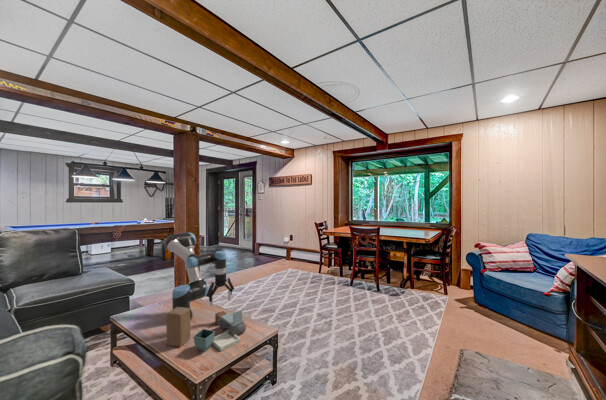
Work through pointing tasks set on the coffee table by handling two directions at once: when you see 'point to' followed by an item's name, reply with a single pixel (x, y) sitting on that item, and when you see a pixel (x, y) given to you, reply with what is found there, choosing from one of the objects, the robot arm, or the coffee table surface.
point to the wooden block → (178, 326)
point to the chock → (219, 316)
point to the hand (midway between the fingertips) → (220, 303)
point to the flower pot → (204, 339)
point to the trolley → (233, 323)
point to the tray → (225, 341)
